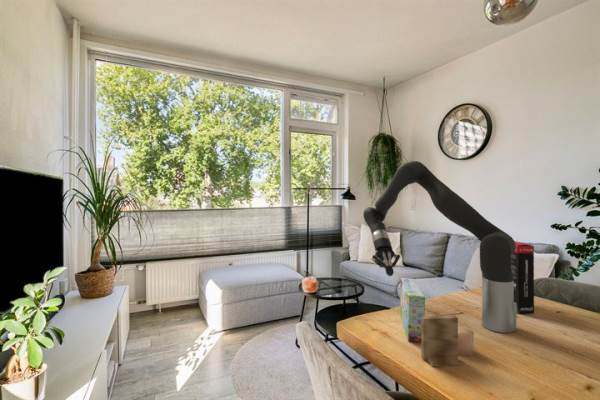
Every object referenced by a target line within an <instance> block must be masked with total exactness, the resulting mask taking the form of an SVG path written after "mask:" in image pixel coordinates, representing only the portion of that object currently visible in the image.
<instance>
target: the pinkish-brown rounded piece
mask: <svg viewBox="0 0 600 400" xmlns="http://www.w3.org/2000/svg"><path fill="white" fill-rule="evenodd" d="M474 334H475V333H474V331H473V330H472V329H470V328H468V327H464V326H458V356H459V355H460V356H463V357H464V356H465V357H470V356H473V355H474V353H475V339H474V338H475V335H474Z"/></svg>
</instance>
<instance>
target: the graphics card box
mask: <svg viewBox="0 0 600 400" xmlns="http://www.w3.org/2000/svg"><path fill="white" fill-rule="evenodd" d="M514 242H515V244H516V249H515V252H514V253H513V254H512V255H511V269H512V272H513V274H514V302H516V304H517V315H518V314H520V315H521V314H523V315H524V314H525V315H526V314H528V315H529V314H535V247H534V245H532V244H527V243H524V242H519V241H515V240H514Z"/></svg>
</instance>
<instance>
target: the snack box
mask: <svg viewBox="0 0 600 400" xmlns="http://www.w3.org/2000/svg"><path fill="white" fill-rule="evenodd" d="M399 280H400V282H399V283H400V291H399V292H400V293H399V294H400V295H399V297H400V301H399V302H400V305H399V308H400V309H399V313H400V314H399V316H400V320H401V322H402V325H403V329H404V332H405V335H406V338H407V341H408V342H415V343H421V317H426V316H425V311H426V296H425V295H424V293H423V292H422V290H421V287H419V285H418V283H417V282H416V280H415V278H410V277H407V278H405V277H400V278H399Z"/></svg>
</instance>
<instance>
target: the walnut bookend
mask: <svg viewBox="0 0 600 400" xmlns="http://www.w3.org/2000/svg"><path fill="white" fill-rule="evenodd" d="M458 327H459V317H457V316H456V315H433V316H425V317H421V342H420V345H421V346H420V347H421V349H420V350H421V352H420V353H421V359H422V360H423V362H424V361H427V362H428V364H430V366H431V367H455V366H461V365H462V363H461V361H460V360H459V354H458Z"/></svg>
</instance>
